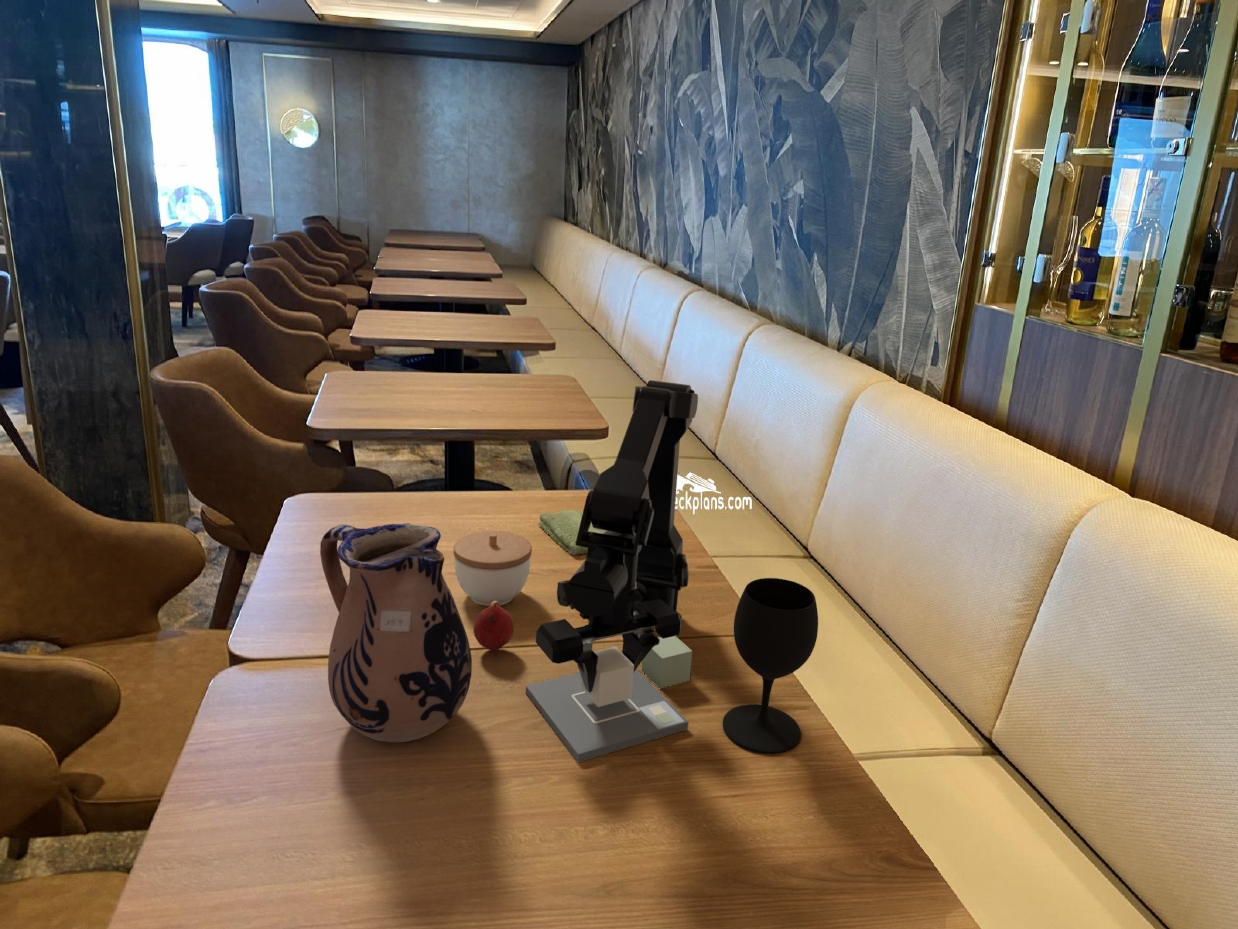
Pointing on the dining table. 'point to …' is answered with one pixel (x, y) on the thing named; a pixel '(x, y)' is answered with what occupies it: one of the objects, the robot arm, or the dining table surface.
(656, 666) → the sage block
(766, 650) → the wine glass
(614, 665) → the cream block
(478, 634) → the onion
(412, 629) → the ceramic pitcher
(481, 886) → the dining table surface
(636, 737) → the slate board
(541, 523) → the washcloth
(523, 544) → the lidded bowl
